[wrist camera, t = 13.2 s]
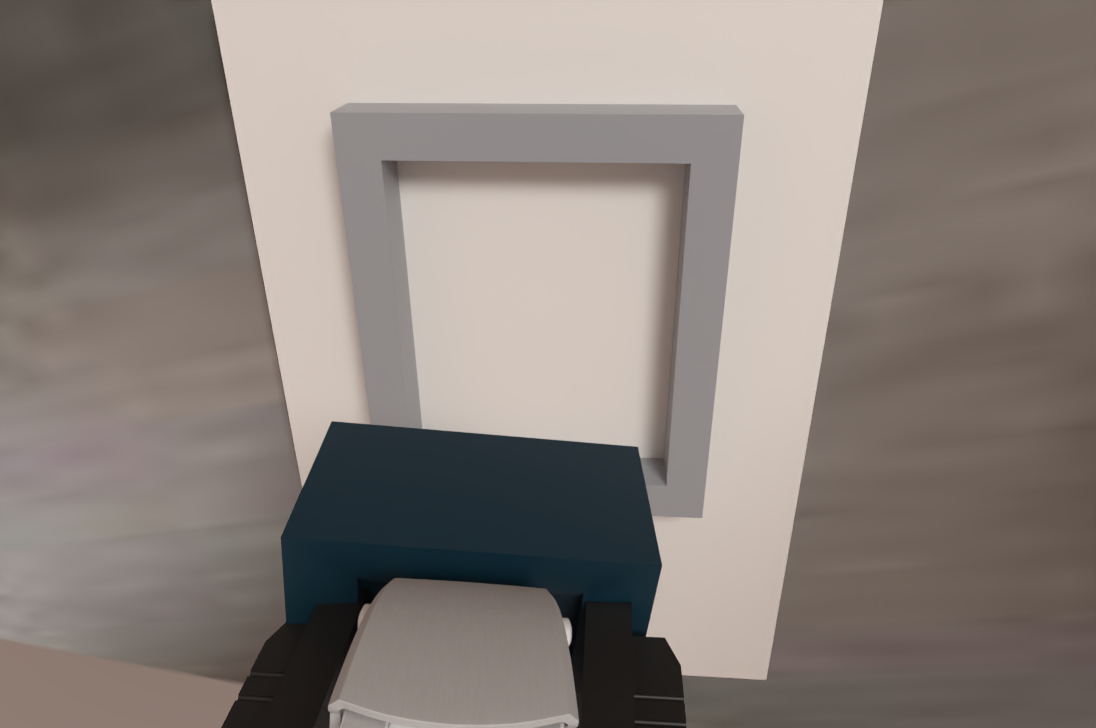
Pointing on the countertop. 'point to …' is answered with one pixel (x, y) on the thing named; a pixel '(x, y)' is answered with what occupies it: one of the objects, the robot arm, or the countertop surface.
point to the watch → (467, 570)
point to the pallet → (567, 245)
